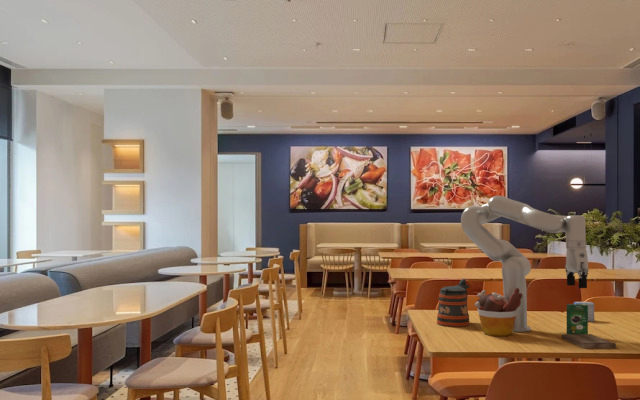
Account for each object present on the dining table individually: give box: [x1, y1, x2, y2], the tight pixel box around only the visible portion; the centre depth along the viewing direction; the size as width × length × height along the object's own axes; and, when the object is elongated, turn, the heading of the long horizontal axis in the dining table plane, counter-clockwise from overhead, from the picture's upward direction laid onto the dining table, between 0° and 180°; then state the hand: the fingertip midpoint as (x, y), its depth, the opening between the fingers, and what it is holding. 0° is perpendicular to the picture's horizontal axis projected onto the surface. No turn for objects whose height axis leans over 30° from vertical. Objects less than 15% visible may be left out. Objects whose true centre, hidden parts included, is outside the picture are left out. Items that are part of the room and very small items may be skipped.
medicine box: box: [573, 301, 595, 322], centre depth 266 cm, size 8×4×9 cm, turn 84°
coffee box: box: [566, 303, 589, 334], centre depth 230 cm, size 8×3×13 cm, turn 93°
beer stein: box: [436, 278, 470, 328], centre depth 260 cm, size 19×15×20 cm
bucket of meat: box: [474, 288, 523, 337], centre depth 235 cm, size 20×16×20 cm
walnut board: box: [561, 333, 617, 350], centre depth 217 cm, size 12×18×2 cm, turn 2°
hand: (576, 286), depth 231 cm, fingers open, 9 cm apart
